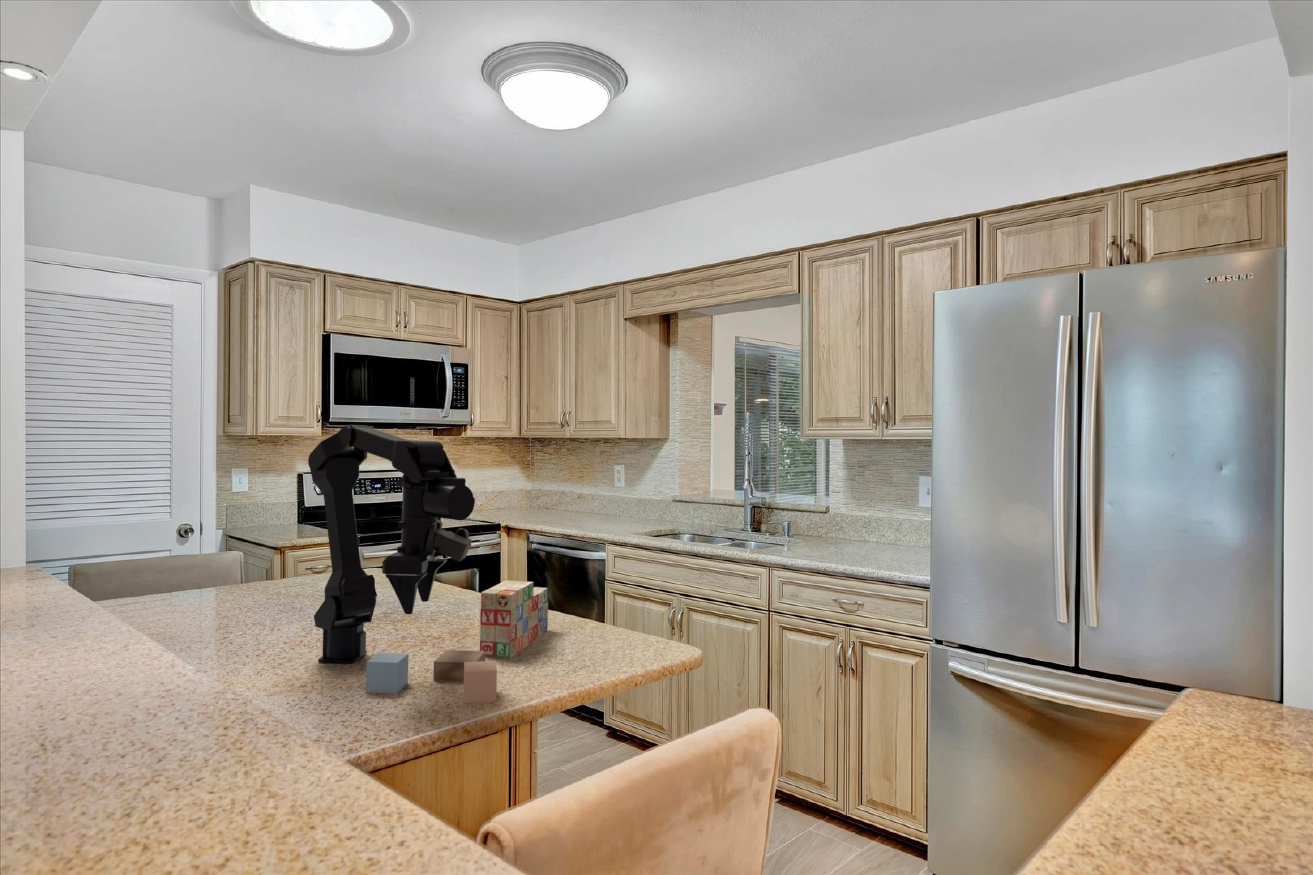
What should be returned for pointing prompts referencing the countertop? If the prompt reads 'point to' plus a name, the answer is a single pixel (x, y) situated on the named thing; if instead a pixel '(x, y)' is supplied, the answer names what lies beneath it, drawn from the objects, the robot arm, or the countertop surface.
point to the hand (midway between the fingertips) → (417, 607)
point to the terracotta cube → (480, 681)
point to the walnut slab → (454, 664)
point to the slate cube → (387, 673)
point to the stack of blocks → (512, 617)
